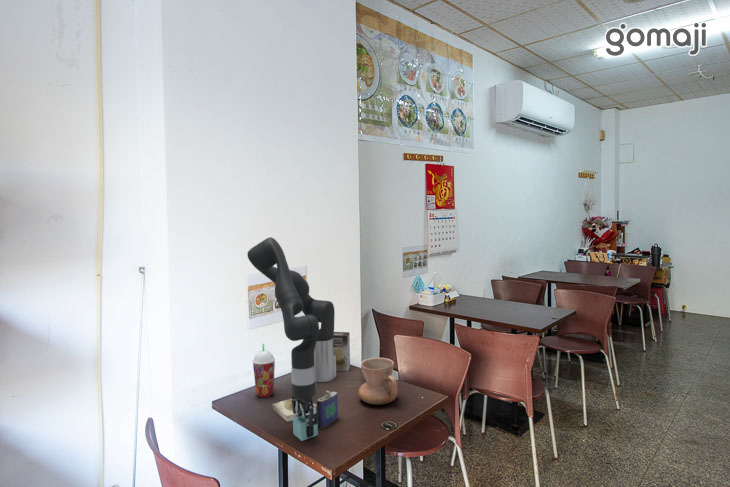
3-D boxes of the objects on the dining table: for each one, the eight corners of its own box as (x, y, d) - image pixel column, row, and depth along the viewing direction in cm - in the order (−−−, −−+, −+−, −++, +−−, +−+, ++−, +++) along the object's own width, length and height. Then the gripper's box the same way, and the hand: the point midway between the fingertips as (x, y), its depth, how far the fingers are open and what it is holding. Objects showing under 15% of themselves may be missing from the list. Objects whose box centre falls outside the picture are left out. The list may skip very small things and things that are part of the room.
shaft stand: (302, 400, 158) (302, 376, 157) (318, 411, 148) (318, 386, 147) (272, 409, 151) (271, 384, 150) (287, 422, 141) (286, 395, 140)
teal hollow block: (309, 428, 136) (308, 413, 136) (317, 435, 132) (317, 419, 132) (293, 433, 133) (292, 418, 133) (301, 441, 129) (301, 425, 128)
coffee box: (327, 371, 187) (326, 335, 186) (331, 365, 194) (329, 331, 193) (348, 371, 186) (347, 335, 185) (350, 366, 193) (349, 331, 192)
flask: (334, 416, 144) (333, 385, 144) (340, 418, 143) (340, 387, 142) (315, 427, 137) (314, 395, 136) (322, 429, 135) (321, 397, 135)
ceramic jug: (348, 398, 158) (347, 361, 158) (378, 388, 167) (377, 352, 166) (379, 415, 144) (378, 374, 143) (410, 403, 153) (409, 364, 152)
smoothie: (278, 390, 167) (277, 340, 166) (272, 399, 159) (270, 347, 158) (258, 390, 168) (256, 340, 167) (250, 398, 160) (248, 347, 159)
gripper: (325, 383, 128) (327, 438, 129) (303, 370, 139) (305, 420, 140) (303, 390, 123) (305, 446, 124) (282, 375, 135) (284, 427, 136)
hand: (305, 432), depth 132 cm, fingers closed on teal hollow block, 5 cm apart
